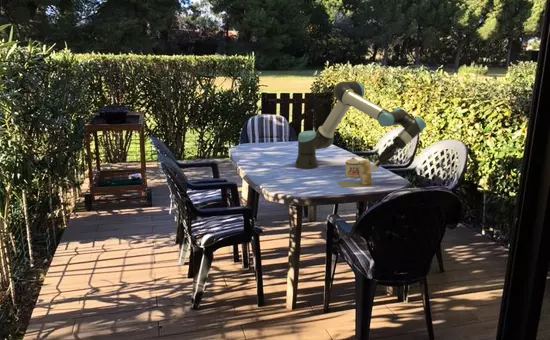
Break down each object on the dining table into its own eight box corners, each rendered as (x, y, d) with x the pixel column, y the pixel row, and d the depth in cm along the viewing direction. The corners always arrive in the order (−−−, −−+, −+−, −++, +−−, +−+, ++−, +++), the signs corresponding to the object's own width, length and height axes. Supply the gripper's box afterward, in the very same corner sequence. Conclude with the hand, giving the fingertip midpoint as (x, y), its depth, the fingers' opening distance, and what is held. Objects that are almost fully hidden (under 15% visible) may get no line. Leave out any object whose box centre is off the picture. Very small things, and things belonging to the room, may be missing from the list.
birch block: (369, 181, 254) (367, 159, 251) (371, 183, 249) (370, 161, 246) (360, 182, 254) (358, 161, 251) (363, 185, 249) (361, 162, 246)
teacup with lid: (347, 178, 266) (348, 159, 263) (343, 174, 275) (343, 156, 272) (366, 177, 268) (367, 158, 265) (361, 174, 276) (362, 155, 274)
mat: (369, 181, 258) (369, 180, 258) (376, 187, 246) (376, 186, 246) (336, 182, 256) (336, 181, 256) (341, 188, 244) (341, 187, 244)
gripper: (411, 146, 242) (379, 176, 244) (401, 142, 254) (372, 171, 256) (402, 137, 240) (371, 167, 242) (393, 133, 252) (363, 162, 255)
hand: (371, 169), depth 249 cm, fingers closed
